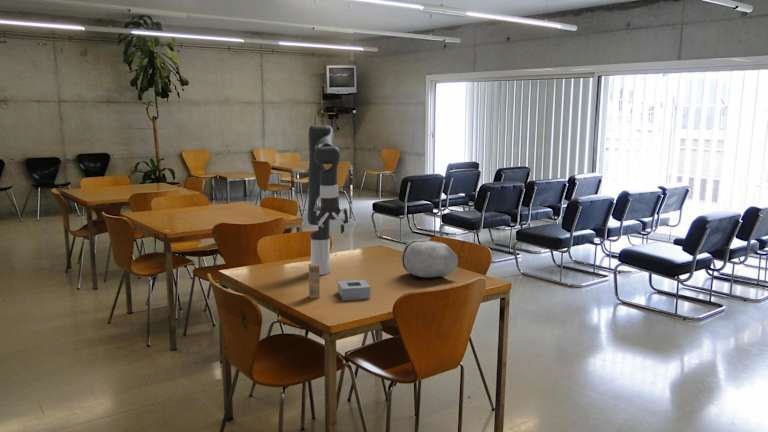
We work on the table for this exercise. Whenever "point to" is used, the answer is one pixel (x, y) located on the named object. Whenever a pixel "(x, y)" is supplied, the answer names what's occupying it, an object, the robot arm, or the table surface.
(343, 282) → the socket
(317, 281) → the peg
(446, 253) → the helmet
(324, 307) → the table surface
